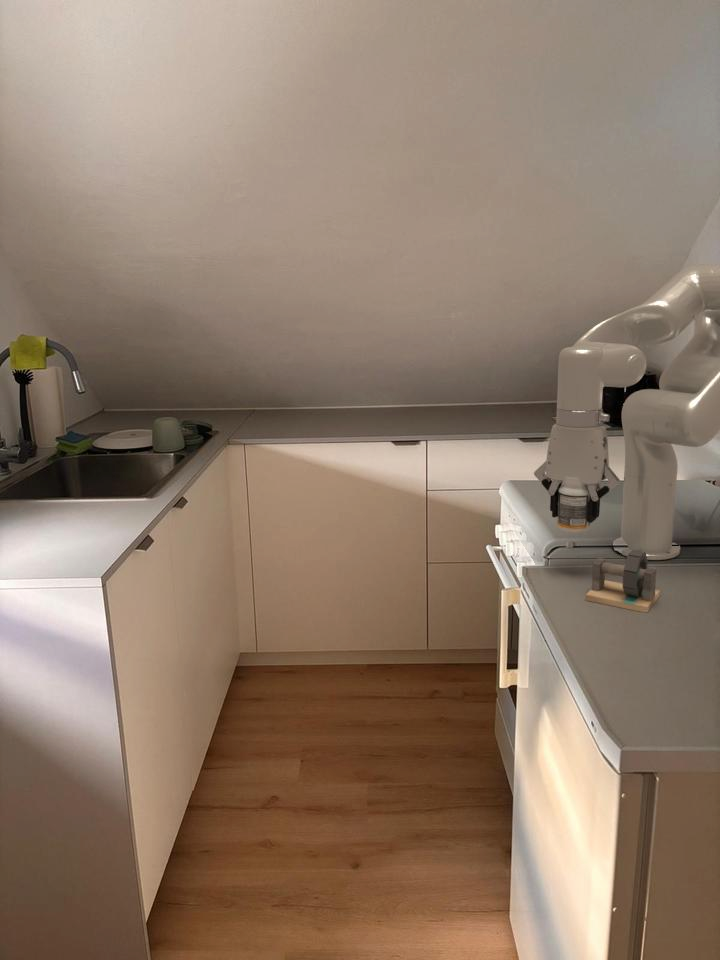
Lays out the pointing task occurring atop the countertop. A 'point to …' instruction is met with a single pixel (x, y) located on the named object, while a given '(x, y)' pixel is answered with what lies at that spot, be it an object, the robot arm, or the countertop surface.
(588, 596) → the rail
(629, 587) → the octagonal nut
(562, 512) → the pill bottle
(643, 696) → the countertop surface
